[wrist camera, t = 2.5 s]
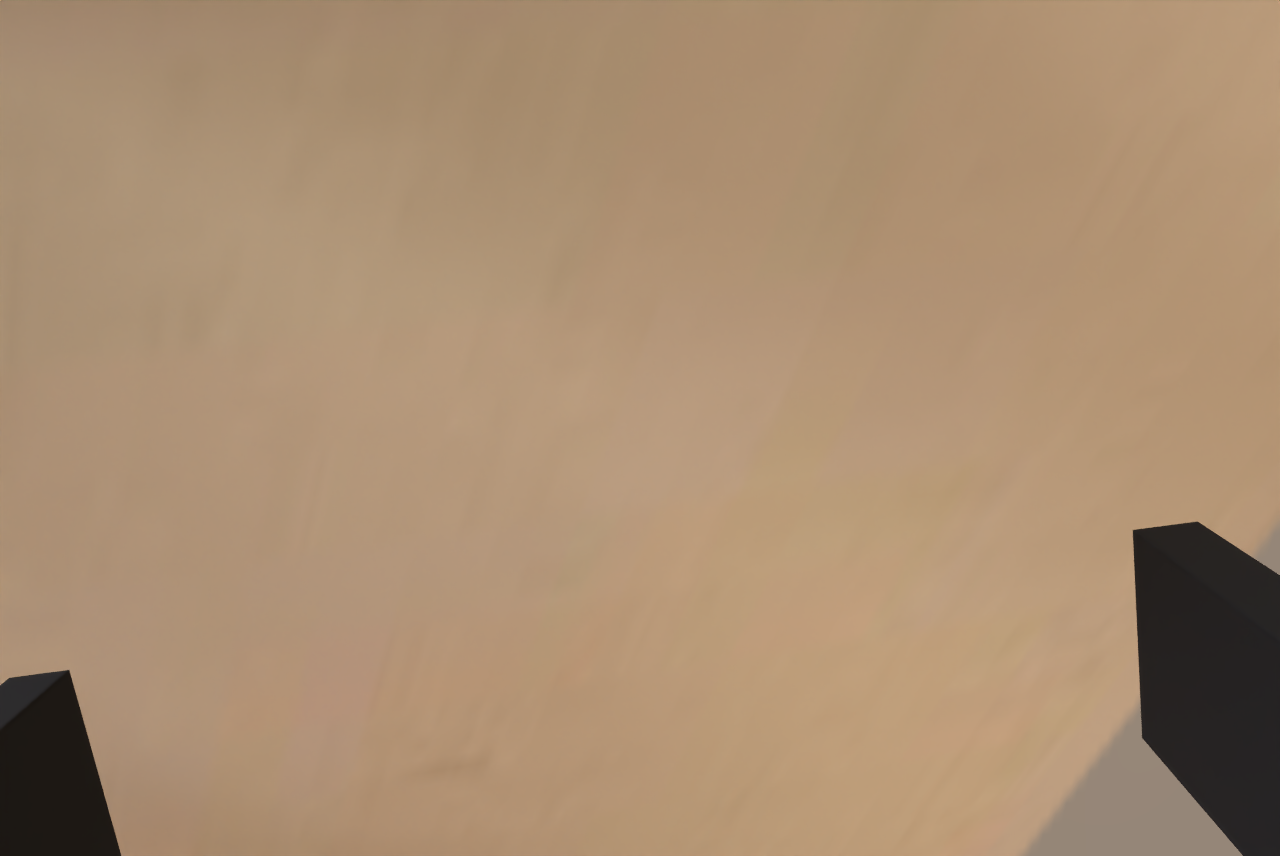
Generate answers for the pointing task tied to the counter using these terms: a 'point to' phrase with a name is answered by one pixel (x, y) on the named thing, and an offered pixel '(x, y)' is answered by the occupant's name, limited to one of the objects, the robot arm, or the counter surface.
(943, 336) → the counter surface
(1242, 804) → the robot arm
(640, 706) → the counter surface
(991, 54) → the counter surface
